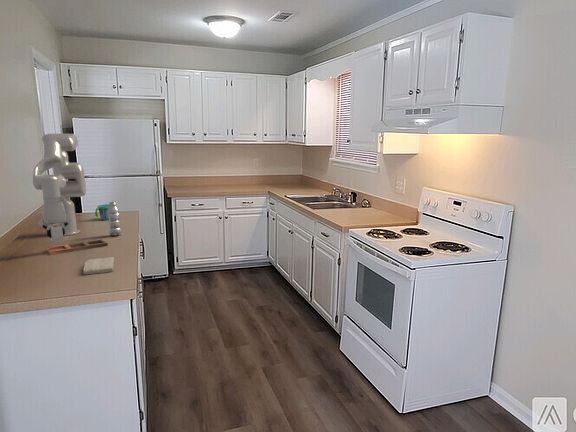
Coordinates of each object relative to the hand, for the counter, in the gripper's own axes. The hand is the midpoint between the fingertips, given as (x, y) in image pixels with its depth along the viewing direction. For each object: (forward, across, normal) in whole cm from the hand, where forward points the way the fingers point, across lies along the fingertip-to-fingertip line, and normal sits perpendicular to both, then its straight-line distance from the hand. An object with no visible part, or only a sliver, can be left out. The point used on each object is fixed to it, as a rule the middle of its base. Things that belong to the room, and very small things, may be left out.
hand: (56, 236), depth 204 cm
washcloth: (+9, -9, +42) cm, 44 cm away
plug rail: (+8, -9, 0) cm, 12 cm away
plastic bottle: (+8, -33, -16) cm, 38 cm away
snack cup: (+7, -44, -72) cm, 85 cm away
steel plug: (+2, 0, 0) cm, 2 cm away
